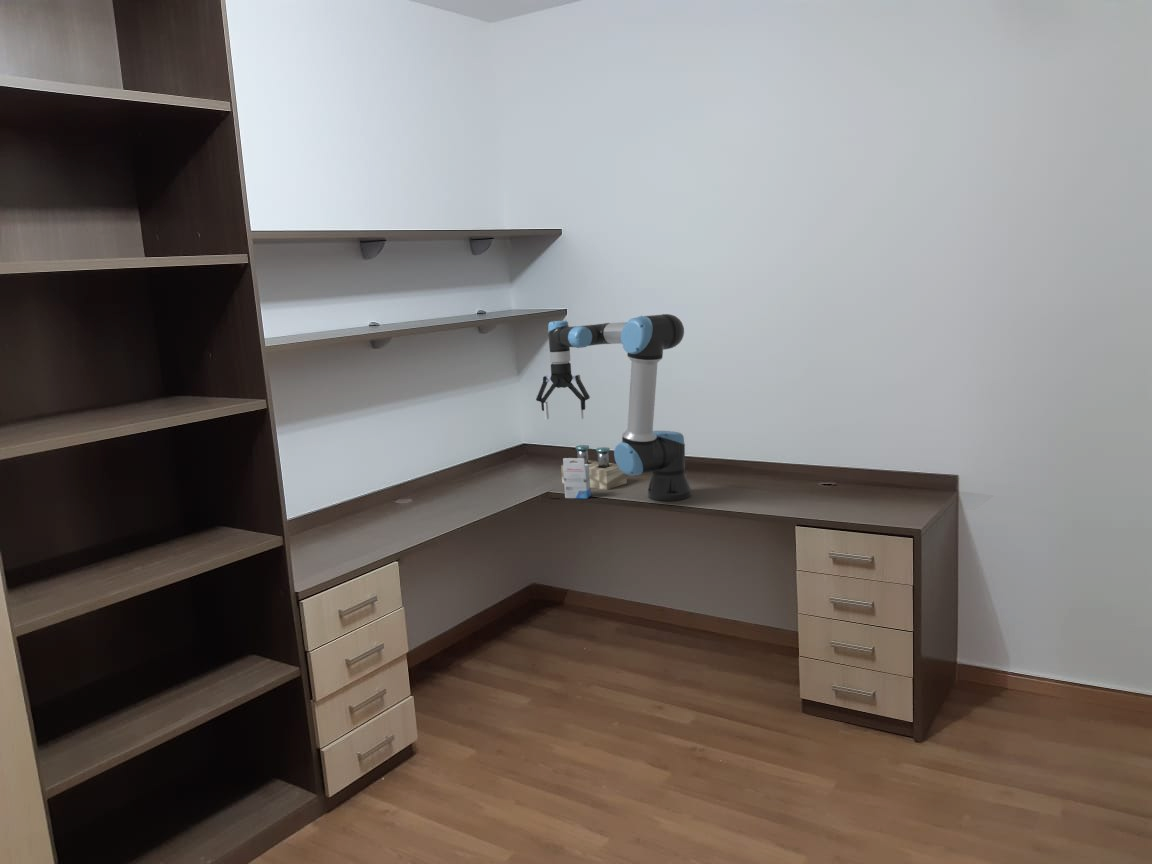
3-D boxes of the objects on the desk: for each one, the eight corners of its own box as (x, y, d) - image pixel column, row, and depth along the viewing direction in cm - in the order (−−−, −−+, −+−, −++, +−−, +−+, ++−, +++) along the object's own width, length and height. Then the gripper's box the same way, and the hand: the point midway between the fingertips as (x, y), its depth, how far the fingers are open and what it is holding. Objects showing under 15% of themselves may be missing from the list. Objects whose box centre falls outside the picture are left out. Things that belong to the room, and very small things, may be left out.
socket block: (626, 483, 343) (626, 464, 341) (607, 489, 334) (606, 471, 332) (582, 476, 357) (581, 459, 356) (562, 483, 348) (561, 465, 347)
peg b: (613, 468, 341) (612, 448, 340) (604, 471, 337) (603, 450, 336) (602, 467, 345) (601, 446, 343) (594, 469, 341) (593, 449, 339)
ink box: (591, 495, 327) (589, 455, 324) (587, 499, 322) (585, 458, 320) (569, 494, 330) (566, 455, 327) (564, 498, 325) (562, 458, 322)
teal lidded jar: (592, 465, 348) (591, 445, 346) (584, 468, 344) (583, 448, 342) (582, 464, 351) (581, 444, 350) (573, 467, 347) (572, 447, 346)
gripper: (595, 360, 338) (598, 416, 341) (531, 362, 345) (535, 417, 348) (590, 362, 331) (593, 419, 334) (525, 364, 337) (529, 421, 341)
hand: (564, 419), depth 341 cm, fingers open, 13 cm apart
